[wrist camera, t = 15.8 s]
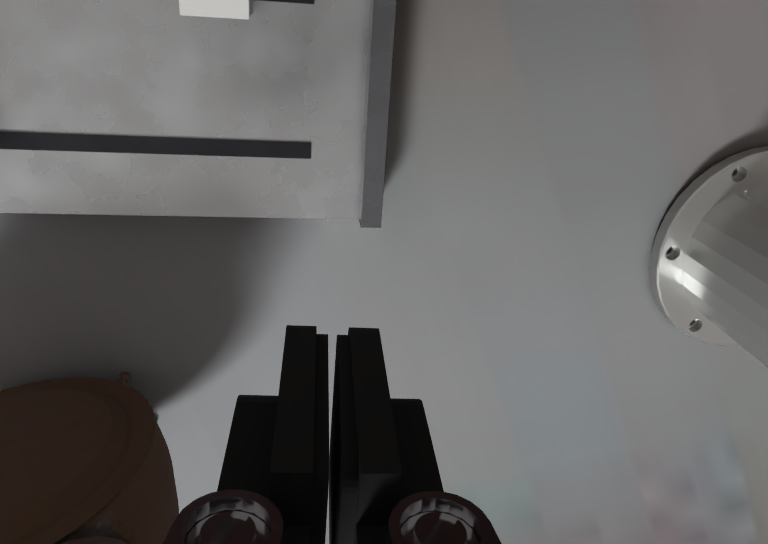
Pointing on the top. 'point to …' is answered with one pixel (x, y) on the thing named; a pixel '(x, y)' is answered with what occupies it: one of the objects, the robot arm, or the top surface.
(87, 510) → the alarm clock
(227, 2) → the fader cap
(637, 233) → the top surface
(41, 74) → the console
